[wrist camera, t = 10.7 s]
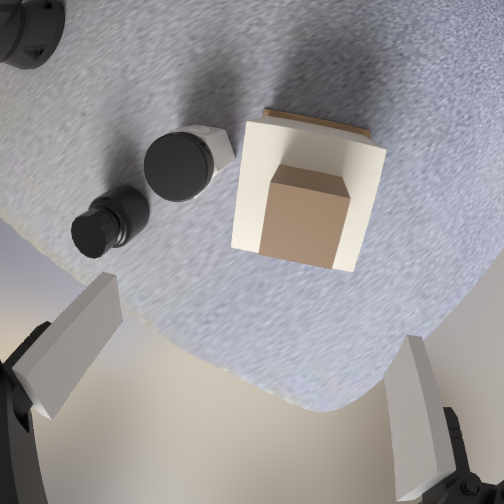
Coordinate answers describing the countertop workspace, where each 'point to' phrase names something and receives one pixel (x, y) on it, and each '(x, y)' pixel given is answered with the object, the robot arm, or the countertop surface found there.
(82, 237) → the ink bottle
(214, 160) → the jar
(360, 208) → the cover
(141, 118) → the countertop surface
